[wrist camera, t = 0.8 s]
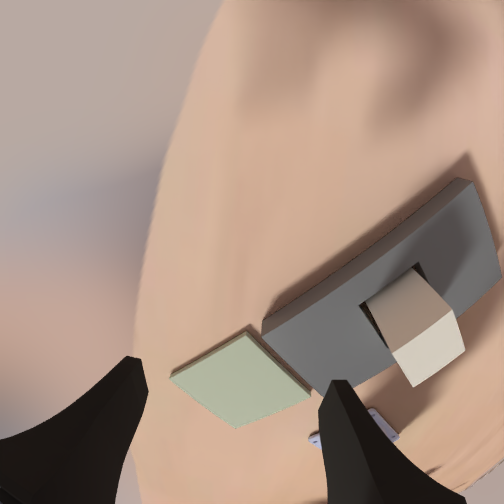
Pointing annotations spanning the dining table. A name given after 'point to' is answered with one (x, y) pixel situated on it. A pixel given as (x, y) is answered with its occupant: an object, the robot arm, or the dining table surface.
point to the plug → (416, 326)
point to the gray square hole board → (377, 277)
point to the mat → (240, 382)
